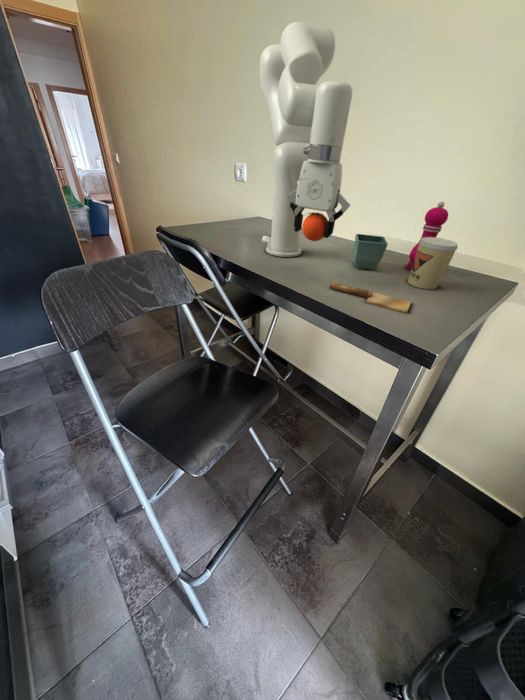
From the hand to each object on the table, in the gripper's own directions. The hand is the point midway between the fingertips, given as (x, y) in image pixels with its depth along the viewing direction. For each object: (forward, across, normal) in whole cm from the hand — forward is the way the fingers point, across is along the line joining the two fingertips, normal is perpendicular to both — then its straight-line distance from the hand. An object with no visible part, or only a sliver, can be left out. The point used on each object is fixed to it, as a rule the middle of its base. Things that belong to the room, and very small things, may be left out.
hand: (312, 233), depth 76 cm
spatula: (+11, +19, -5) cm, 23 cm away
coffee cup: (+12, +30, +15) cm, 36 cm away
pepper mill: (+12, +27, +28) cm, 41 cm away
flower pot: (+12, +12, +19) cm, 26 cm away
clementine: (+2, 0, 0) cm, 2 cm away
